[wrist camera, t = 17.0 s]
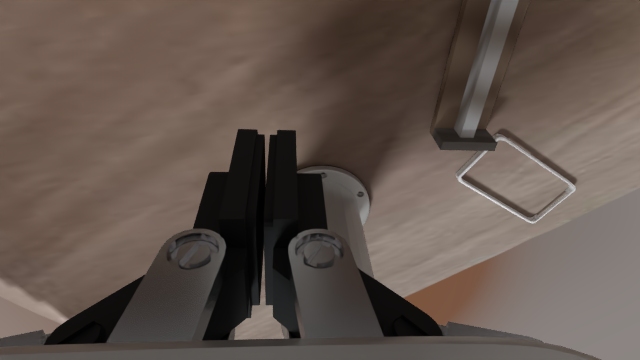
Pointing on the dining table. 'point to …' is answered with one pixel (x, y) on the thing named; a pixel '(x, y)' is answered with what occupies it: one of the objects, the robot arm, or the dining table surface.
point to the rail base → (476, 72)
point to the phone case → (528, 219)
